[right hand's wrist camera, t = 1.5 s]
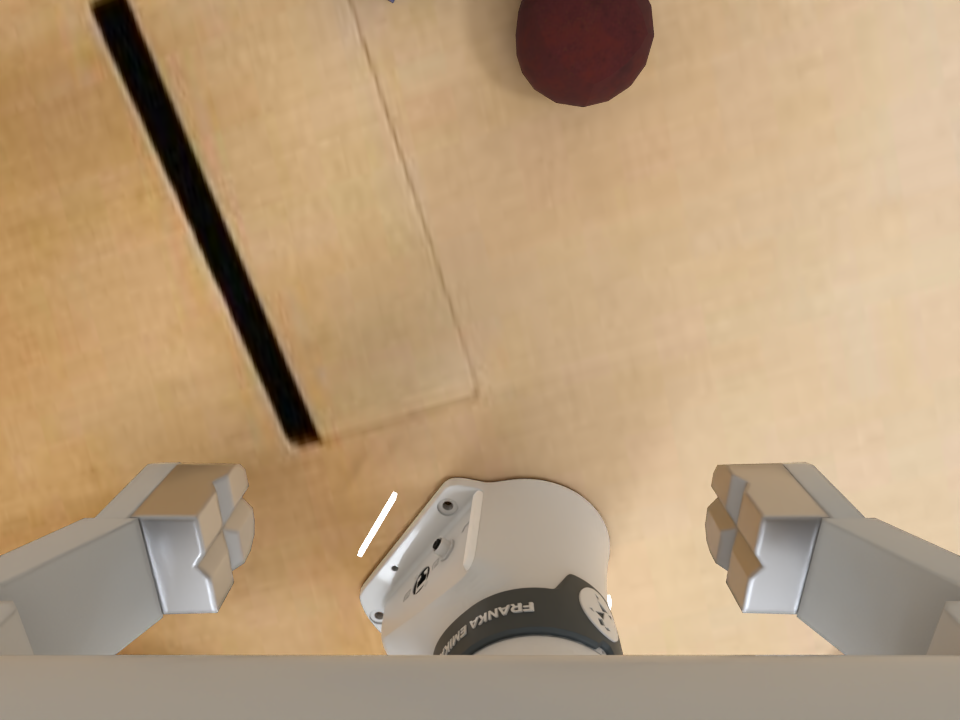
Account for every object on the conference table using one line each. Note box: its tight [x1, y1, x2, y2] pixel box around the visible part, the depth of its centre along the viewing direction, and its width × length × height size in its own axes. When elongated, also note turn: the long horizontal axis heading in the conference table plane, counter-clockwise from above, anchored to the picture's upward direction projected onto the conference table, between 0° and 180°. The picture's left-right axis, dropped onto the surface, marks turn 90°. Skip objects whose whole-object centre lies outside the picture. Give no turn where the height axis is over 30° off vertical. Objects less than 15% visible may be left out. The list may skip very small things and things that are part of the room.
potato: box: [516, 0, 654, 107], centre depth 33 cm, size 7×8×7 cm
